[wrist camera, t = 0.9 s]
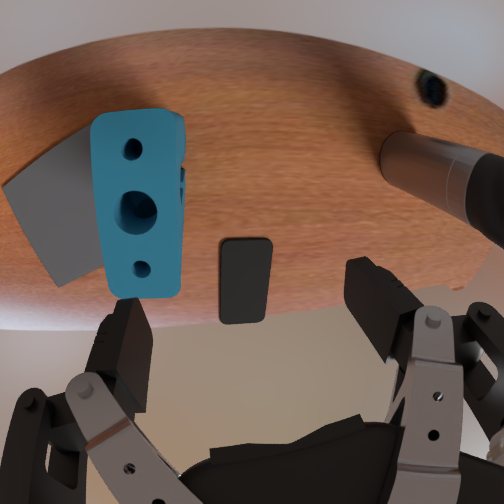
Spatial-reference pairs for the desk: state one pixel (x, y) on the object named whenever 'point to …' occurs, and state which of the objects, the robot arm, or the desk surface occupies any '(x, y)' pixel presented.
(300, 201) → the desk surface
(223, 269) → the phone
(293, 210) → the desk surface
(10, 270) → the desk surface
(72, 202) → the mat
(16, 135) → the desk surface
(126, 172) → the block
